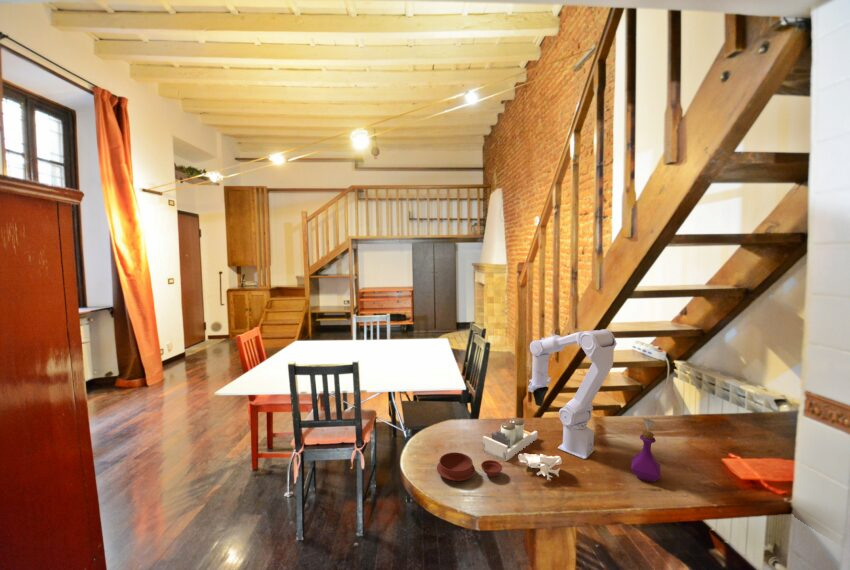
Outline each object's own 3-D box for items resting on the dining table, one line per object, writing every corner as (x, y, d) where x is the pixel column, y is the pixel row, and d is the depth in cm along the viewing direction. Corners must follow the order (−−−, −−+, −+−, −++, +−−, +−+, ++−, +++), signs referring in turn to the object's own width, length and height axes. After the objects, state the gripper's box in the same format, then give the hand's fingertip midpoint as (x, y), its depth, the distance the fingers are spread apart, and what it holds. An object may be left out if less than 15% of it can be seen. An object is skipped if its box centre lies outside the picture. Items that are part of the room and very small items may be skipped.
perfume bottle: (659, 487, 106) (663, 428, 105) (630, 479, 110) (633, 421, 109) (659, 474, 113) (663, 418, 111) (631, 466, 117) (634, 412, 115)
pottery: (436, 463, 118) (436, 450, 118) (498, 464, 118) (498, 451, 117) (436, 486, 107) (437, 472, 106) (505, 487, 106) (506, 473, 106)
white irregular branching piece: (570, 458, 111) (541, 460, 106) (569, 482, 110) (540, 485, 105) (541, 446, 122) (513, 448, 116) (540, 468, 120) (512, 470, 115)
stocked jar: (518, 444, 128) (518, 425, 128) (510, 449, 125) (510, 429, 124) (506, 439, 132) (506, 420, 131) (497, 444, 128) (498, 425, 128)
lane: (537, 438, 134) (537, 425, 134) (505, 461, 119) (506, 447, 119) (515, 430, 140) (515, 417, 140) (482, 450, 126) (482, 436, 125)
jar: (518, 444, 128) (519, 425, 128) (506, 438, 132) (507, 420, 131) (525, 439, 132) (526, 421, 131) (514, 434, 135) (514, 416, 135)
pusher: (509, 451, 123) (510, 435, 123) (507, 453, 122) (508, 436, 122) (493, 444, 128) (493, 428, 127) (491, 445, 127) (491, 429, 126)
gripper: (539, 364, 148) (538, 397, 149) (520, 372, 137) (519, 407, 139) (556, 368, 143) (555, 402, 144) (538, 377, 132) (537, 413, 134)
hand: (538, 405), depth 141 cm, fingers closed
